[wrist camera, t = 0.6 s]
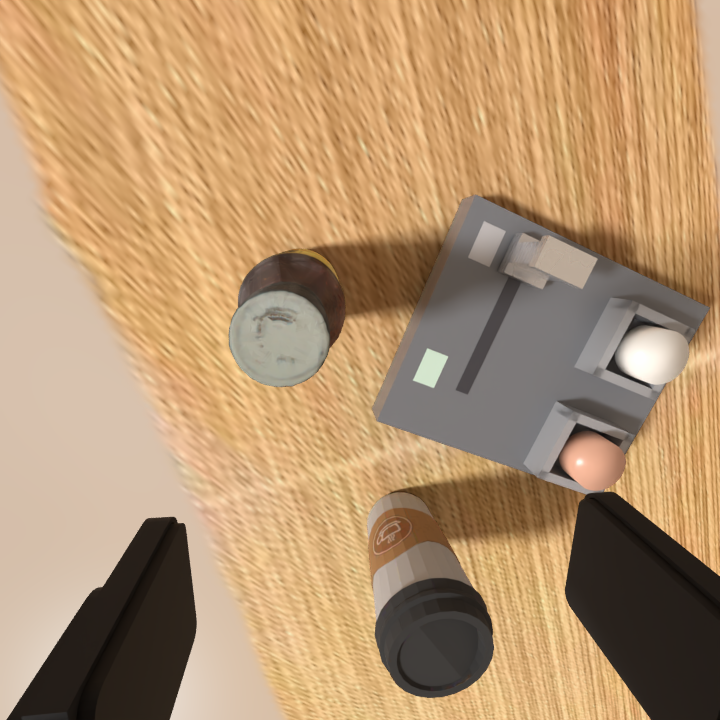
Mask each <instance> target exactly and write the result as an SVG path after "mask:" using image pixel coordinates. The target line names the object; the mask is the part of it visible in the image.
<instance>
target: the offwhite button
mask: <svg viewBox="0 0 720 720" xmlns="http://www.w3.org/2000/svg"><path fill="white" fill-rule="evenodd" d="M688 357H689V346H688V343H687V340H686V339H685V338H684V336H683V335H681V334H680V333H678V332H676V331H672V330H667V329H663V328H658V327H653V326H648V325H640V326H637V327H634V328H632V329H630V330H629V331H627V332H626V333H625V334H624V336H623V337H622V339H621V341H620V343H619V345H618V347H617V349H616V351H615V361H616V364H617V366H618V368H619V369H620V370H621V371H622V372H623V373H624V374H626V375H629V376H632V377H634V378H637V379H639V380H642V381H645V382H647V383H650V384H654V385H660V384H665V383H668V382H670V381H672V380H673V379H675V378H676V377H677V376H678V375H679V374H680V373H681V372H682V371H683V369H684V368H685V366H686V364H687V361H688Z"/></svg>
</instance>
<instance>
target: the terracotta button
mask: <svg viewBox="0 0 720 720" xmlns="http://www.w3.org/2000/svg"><path fill="white" fill-rule="evenodd" d="M559 462H560V465H561V467H562V469H563V470H564V471H565V472H566V473H567V474H568V475H570V476H571V477H572V478H573V479H574V480H575V481H577V482H578V483H579V484H580V485H581V486H582V487H584V488H585V489H588V490H592V491H599V490H604V489H606V488H608V487H610V486H612V485H613V484H615V483H616V482H617V481H618V480H619V478H620V477H621V476H622V474H623V472H624V469H625V464H626V459H625V455H624V453H623V451H622V450H621V449H620V448H619V447H618V446H617V445H615V444H613V443H612V442H610V441H609V440H607V439H605V438H604V437H602V436H601V435H599V434H598V433H596V432H593V431H581V432H578V433H576V434H574V435H572V436H571V437H569V438H568V439H567V441H566V443H565V444H564V446H563V448H562V450H561V452H560V454H559Z"/></svg>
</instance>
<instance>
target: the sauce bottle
mask: <svg viewBox="0 0 720 720" xmlns="http://www.w3.org/2000/svg"><path fill="white" fill-rule="evenodd" d="M344 320H345V297H344V293H343V289H342V286H341V284H340V282H339V279H338V276H337V274H336V272H335V270H334V268H333V267H332V265H331V264H330V263H329V262H328V261H327V260H326V259H325V258H324V257H323V256H322V255H320V254H318V253H316V252H314V251H311V250H307V249H292V250H289V251H285V252H282V253H279V254H276V255H273V256H271V257H269V258H267V259H265V260H263V261H261V262H260V263H259V264H257V265H256V266H255V267H254V268H253V269H252V270H251V271H250V272H249V273H248V274H247V276H246V277H245V279H244V280H243V283H242V285H241V287H240V291H239V296H238V309H237V310H236V312H235V313H234V315H233V317H232V320H231V325H230V328H229V347H230V350H231V352H232V355H233V357H234V359H235V361H236V362H237V364H238V365H239V367H240V368H241V369H242V370H243V371H244V372H245V373H246V374H247V375H248V376H249V377H250V378H252V379H254V380H256V381H257V382H259V383H262V384H264V385H269V386H274V387H286V386H294V385H296V384H299V383H302V382H304V381H306V380H308V379H309V378H311V377H312V376H313V375H314V374H315V373H316V372H317V371H318V370H319V369H320V368H321V366H322V365H323V363H324V361H325V359H326V357H327V355H328V352H329V348H330V347H331V346H332V345H333V343H334V342H335V341H336V340H337V338H338V337H339V334H340V333H341V329H342V327H343V323H344Z"/></svg>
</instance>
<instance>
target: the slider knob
mask: <svg viewBox="0 0 720 720" xmlns="http://www.w3.org/2000/svg"><path fill="white" fill-rule="evenodd" d="M597 260H598V259H597V258H595V257H593V256H591V255H589V254H587V253H585V252H583V251H581V250H579V249H577V248H574V247H572V246H570V245H568V244H566V243H564V242H562V241H560V240H558V239H556V238H554V237H552V236H549V235H548V236H542V239H541V241H539V240H537V239H535V238H533V237H531V236H529V235H527V234H524V233H515V235H514V237H513V240H512V242H511V244H510V246H509V248H508V250H507V253H506V255H505V257H504V259H503V261H502V263H501V265H500V268H499V270H498V272H500V273H502V274H504V275H506V276H509V277H511V278H513V279H515V280H517V281H520V282H522V283H524V284H526V285H529V286H531V287H533V288H536V289H543V288H544V286H545V284H546V282H547V280H552V281H561V282H563V283H565V284H568V285H570V286H572V287H574V288H579V289H583V287H584V285H585V283H586V281H587V279H588V277H589V275H590V273H591V271H592V269H593V267H594V265H595V263H596V262H597Z"/></svg>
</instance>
